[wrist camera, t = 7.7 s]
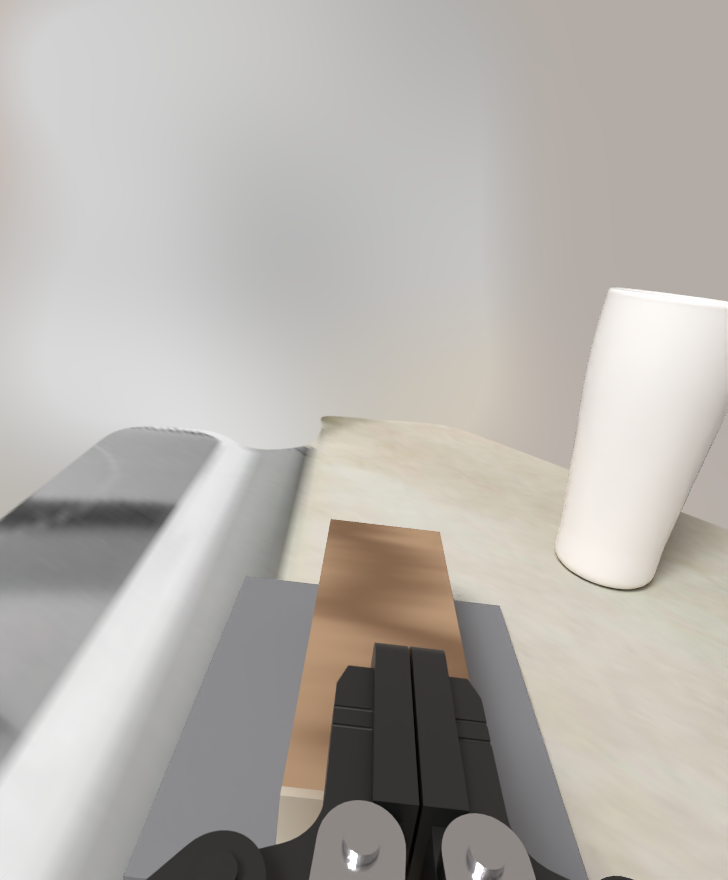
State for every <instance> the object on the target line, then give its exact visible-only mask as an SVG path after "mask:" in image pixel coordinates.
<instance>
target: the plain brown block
mask: <svg viewBox="0 0 728 880" xmlns="http://www.w3.org/2000/svg"><path fill="white" fill-rule="evenodd" d="M375 642H376V643H385V644H393V645H402V646H408V648H410V646H412V647H420V648H429V649H438V650H444V652H445V655H446V661H447V668H448V674H449V677H457V678H465V679H468V680H469V676H468V671H467V666H466V661H465V656H464V651H463V646H462V641H461V636H460V631H459V626H458V621H457V616H456V611H455V606H454V601H453V596H452V591H451V586H450V581H449V576H448V571H447V566H446V561H445V556H444V551H443V546H442V541H441V536H440V532H435V531H427V530H418V529H410V528H401V527H393V526H384V525H376V524H367V523H359V522H350V521H342V520H333V519H331V522H330V527H329V533H328V538H327V544H326V549H325V554H324V560H323V565H322V571H321V576H320V582H319V587H318V592H317V598H316V603H315V609H314V614H313V620H312V625H311V630H310V636H309V641H308V647H307V652H306V658H305V663H304V669H303V674H302V679H301V685H300V690H299V696H298V701H297V707H296V712H295V717H294V723H293V728H292V734H291V739H290V745H289V750H288V755H287V761H286V766H285V772H284V777H283V783H282V788H281V793H280V803H279V814H278V825H277V837H276V844H280V843H284V842H287V841H290V840H292V839H294V838H296V837H298V836H300V835H301V834H302V833H304V832H305V831H306V830H307V829H309V828H310V827H311V826H312V824H313V823H314V822H315V821H316V819H317V818H318V816H319V814H320V812H321V810H322V807H323V797H324V788H325V778H326V769H327V759H328V750H329V740H330V732H331V724H332V716H333V708H334V700H335V692H336V684H337V681H338V680H339V678H340V677H341V675H342V674H343V673H344V671H345V670H346V668H347V667H348V665H351V666H360V667H368V668H370V667H371V661H372V654H373V648H374V643H375ZM469 682H470V681H469Z"/></svg>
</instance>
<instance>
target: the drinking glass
mask: <svg viewBox="0 0 728 880" xmlns="http://www.w3.org/2000/svg"><path fill="white" fill-rule="evenodd" d="M727 411H728V302H727V301H720V300H713V299H706V298H699V297H692V296H684V295H676V294H669V293H662V292H654V291H645V290H637V289H628V288H617V287H612V288H609V289H608V291H607V295H606V299H605V302H604V305H603V308H602V311H601V314H600V318H599V321H598V324H597V328H596V331H595V335H594V339H593V342H592V347H591V351H590V355H589V359H588V364H587V369H586V374H585V379H584V385H583V390H582V396H581V403H580V409H579V415H578V421H577V428H576V433H575V440H574V446H573V452H572V458H571V464H570V470H569V476H568V482H567V488H566V493H565V499H564V505H563V510H562V516H561V520H560V524H559V528H558V531H557V535H556V539H555V551H556V554H557V556H558V558H559V559H560V561H561V562H562V563H563V564H564V565H565V566H566V567H567V568H568V569H569V570H571V571H572V572H574V573H575V574H577V575H578V576H580V577H582V578H584V579H586V580H588V581H591V582H593V583H596V584H599V585H602V586H606V587H610V588H617V589H635V588H639V587H642V586H644V585H646V584H648V583H649V582H650V581H651V580H652V579H653V577H654V575H655V573H656V570H657V567H658V564H659V561H660V558H661V556H662V553H663V550H664V548H665V545H666V543H667V541H668V539H669V536H670V534H671V532H672V530H673V527H674V525H675V523H676V521H677V519H678V517H679V514H680V512H681V510H682V508H683V506H684V504H685V501H686V499H687V497H688V495H689V492H690V490H691V488H692V486H693V484H694V482H695V480H696V477H697V475H698V473H699V471H700V469H701V467H702V465H703V463H704V460H705V458H706V456H707V454H708V452H709V450H710V448H711V446H712V443H713V441H714V439H715V437H716V435H717V433H718V431H719V428H720V426H721V424H722V422H723V420H724V418H725V416H726V413H727Z"/></svg>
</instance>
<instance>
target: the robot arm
mask: <svg viewBox="0 0 728 880" xmlns="http://www.w3.org/2000/svg"><path fill="white" fill-rule="evenodd" d="M490 741H491V740H490V735H489V731H488V726H486V717H485V712H484V708H483V703H482V699H481V698H480V696H479V695H478V693H477V692H476V690H475V689H474V687H473V686H472V684H471V683H470V682H469V680H468V679H465V678H457V677H449V674H448V668H447V661H446V655H445V652H444V650H438V649H429V648H420V647H412V646H410V648H408V646H402V645H393V644H385V643H376V642H375V643H374V648H373V654H372V661H371V667H370V668H368V667H360V666H351V665H348V667H347V668H346V670H345V671H344V673H343V674H342V675H341V677H340V678H339V680H338V681H337V684H336V692H335V700H334V708H333V716H332V724H331V732H330V740H329V750H328V759H327V769H326V778H325V788H324V797H323V807H322V810H321V812H320V814H319V816H318V818H317V819H316V821H315V822H314V823H313V824H312V826H311V827H310V828H309V829H307V830H306V831H305V832H304V833H302V834H301V835H300V836H298V837H296V838H294V839H292V840H290V841H287V842H284V843H280V844H276V845H272V846H268V847H264V848H260V849H258V847H257V846H256V844H255V843H254V842H253V841H252V840H250V839H249V838H248V837H246V836H245V835H243V834H241V833H238V832H235V831H229V830H219V831H213V832H209V833H206V834H204V835H202V836H200V837H198V838H196V839H194V840H193V841H192V842H190V843H189V844H188V845H186V846H185V847H184V848H183V849H182V850H180V851H179V852H178V853H177V854H176V855H175V856H173V857H172V858H171V859H170V860H169V861H167V862H166V863H165V864H164V865H163V866H162V867H160V868H159V869H158V870H157V871H156V872H154V873H153V874H152V875H151V876H150V877H149V878H147V879H146V880H570V879H567V878H565V877H563V876H561V875H559V874H556V873H554V872H553V871H551V870H549V869H547V868H545V867H544V866H543V865H541V864H540V863H538V862H537V861H536V860H535V859H534V858H532V857H531V856H530V855H529V854H528V853H527V851H526V849H525V847H524V845H523V843H522V842H521V841H520V839H519V838H518V836H517V835H516V834H515V833H514V832H513V831H512V829H511V827H510V824H509V821H508V817H507V813H506V808H505V804H504V799H503V795H502V790H501V786H500V781H499V776H498V772H497V767H496V763H495V758H494V754H493V749H492V745H491V744H490ZM601 880H633V879H630V878H626V877H622V876H610V877H606V878H604V879H601Z"/></svg>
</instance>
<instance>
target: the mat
mask: <svg viewBox="0 0 728 880" xmlns="http://www.w3.org/2000/svg"><path fill="white" fill-rule="evenodd" d="M318 587H319V585H317V584H309V583H300V582H291V581H283V580H274V579H266V578H257V577H249V576H246V577H245V580H244V582H243V585H242V587H241V589H240V592H239V594H238V597H237V599H236V602H235V604H234V607H233V609H232V612H231V614H230V616H229V619H228V621H227V624H226V626H225V629H224V631H223V634H222V636H221V638H220V641H219V643H218V646H217V648H216V651H215V653H214V656H213V658H212V660H211V663H210V665H209V668H208V670H207V673H206V675H205V678H204V680H203V683H202V685H201V687H200V690H199V692H198V695H197V697H196V700H195V702H194V705H193V707H192V709H191V712H190V714H189V717H188V719H187V722H186V724H185V727H184V729H183V732H182V734H181V736H180V739H179V741H178V744H177V746H176V749H175V751H174V754H173V756H172V758H171V761H170V763H169V766H168V768H167V771H166V773H165V776H164V778H163V780H162V783H161V785H160V788H159V790H158V793H157V795H156V798H155V800H154V803H153V805H152V807H151V810H150V812H149V815H148V817H147V820H146V822H145V825H144V827H143V829H142V832H141V834H140V837H139V839H138V842H137V844H136V847H135V849H134V851H133V854H132V856H131V859H130V861H129V864H128V866H127V869H126V871H125V874H124V876H123V878H124V880H146V879H147V878H149V877H150V876H151V875H152V874H153V873H154V872H156V871H157V870H158V869H159V868H160V867H162V866H163V865H164V864H165V863H166V862H167V861H169V860H170V859H171V858H172V857H173V856H175V855H176V854H177V853H178V852H179V851H180V850H182V849H183V848H184V847H185V846H186V845H188V844H189V843H190V842H192V841H193V840H194V839H196V838H198V837H200V836H202V835H204V834H206V833H209V832H213V831H219V830H229V831H235V832H238V833H241V834H243V835H245V836H246V837H248V838H249V839H250V840H252V841H253V842H254V843H255V844H256V846H257V847H258V849H260V848H264V847H268V846H272V845H276V837H277V825H278V814H279V803H280V793H281V788H282V783H283V777H284V772H285V766H286V761H287V755H288V750H289V745H290V739H291V734H292V728H293V723H294V717H295V712H296V707H297V701H298V696H299V690H300V685H301V679H302V674H303V669H304V663H305V658H306V652H307V647H308V641H309V636H310V630H311V625H312V620H313V614H314V609H315V603H316V598H317V592H318ZM453 601H454V600H453ZM454 606H455V611H456V616H457V621H458V626H459V631H460V636H461V641H462V646H463V651H464V656H465V661H466V666H467V671H468V676H469V681H470V683H471V684H472V686H473V687H474V689H475V690H476V692H477V693H478V695H479V696H480V698H481V699H482V703H483V708H484V712H485V717H486V726H488V731H489V735H490V740H491V741H490V744H491V745H492V749H493V754H494V758H495V763H496V767H497V772H498V776H499V781H500V786H501V790H502V795H503V799H504V804H505V808H506V813H507V817H508V821H509V824H510V827H511V829H512V831H513V832H514V833H515V834H516V835H517V836H518V838H519V839H520V841H521V842H522V843H523V845H524V847H525V849H526V851H527V853H528V854H529V855H530V856H531V857H532V858H534V859H535V860H536V861H537V862H538V863H540V864H541V865H543V866H544V867H545V868H547V869H549V870H551V871H553V872H554V873H556V874H559V875H561V876H563V877H565V878H567V879H570V880H588V878H587V875H586V872H585V868H584V865H583V862H582V859H581V856H580V853H579V850H578V847H577V844H576V841H575V838H574V835H573V831H572V828H571V825H570V822H569V819H568V816H567V813H566V810H565V807H564V804H563V801H562V797H561V794H560V791H559V788H558V785H557V782H556V779H555V776H554V773H553V770H552V767H551V764H550V760H549V757H548V754H547V751H546V748H545V745H544V742H543V739H542V736H541V733H540V730H539V727H538V723H537V720H536V717H535V714H534V711H533V708H532V705H531V702H530V699H529V696H528V693H527V689H526V686H525V683H524V680H523V677H522V674H521V671H520V668H519V665H518V662H517V659H516V656H515V652H514V649H513V646H512V643H511V640H510V637H509V634H508V631H507V628H506V625H505V622H504V618H503V615H502V612H501V609H500V606H497V605H489V604H480V603H471V602H463V601H454Z"/></svg>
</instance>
